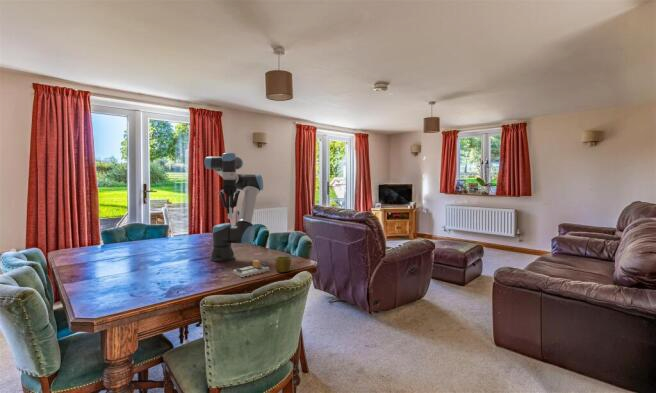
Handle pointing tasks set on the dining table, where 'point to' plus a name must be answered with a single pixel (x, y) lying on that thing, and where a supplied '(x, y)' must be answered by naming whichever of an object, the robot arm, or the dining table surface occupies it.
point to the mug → (283, 264)
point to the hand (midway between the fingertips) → (229, 218)
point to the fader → (256, 263)
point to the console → (250, 270)
